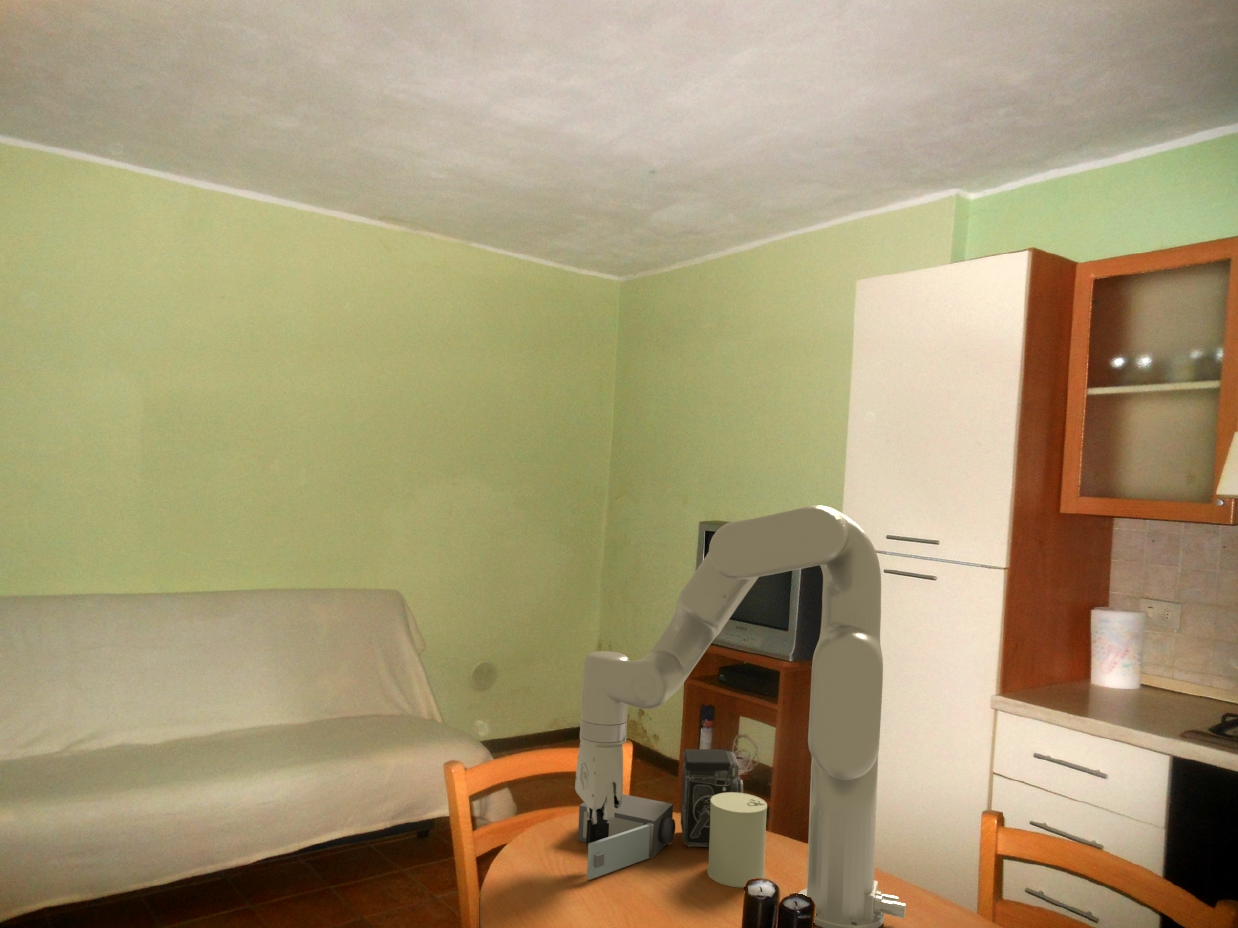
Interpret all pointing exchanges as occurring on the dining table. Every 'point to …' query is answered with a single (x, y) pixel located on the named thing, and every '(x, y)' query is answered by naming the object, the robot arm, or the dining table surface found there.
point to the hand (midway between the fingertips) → (596, 845)
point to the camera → (705, 789)
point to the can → (736, 838)
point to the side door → (619, 850)
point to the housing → (637, 819)
